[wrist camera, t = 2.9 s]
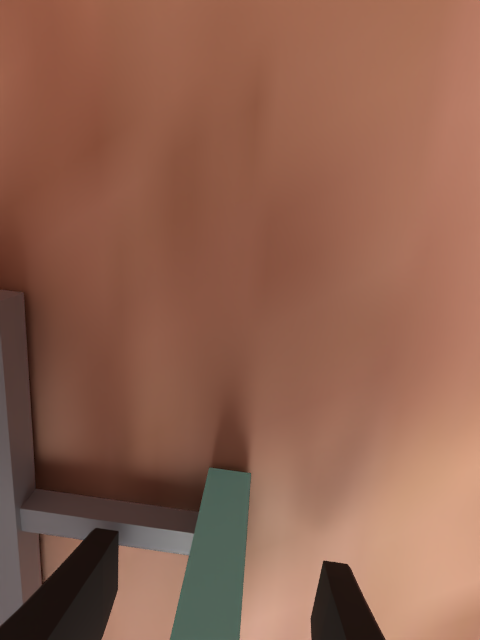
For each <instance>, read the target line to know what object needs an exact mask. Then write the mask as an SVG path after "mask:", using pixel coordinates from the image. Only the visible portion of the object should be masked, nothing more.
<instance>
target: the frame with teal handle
mask: <svg viewBox="0 0 480 640" xmlns="http://www.w3.org/2000/svg"><path fill="white" fill-rule="evenodd" d="M250 482H251V473H246V472H239V471H231V470H224V469H217V468H210V467H209V470H208V475H207V479H206V483H205V488H204V492H203V497H202V501H201V505H200V510H199V512H197V511H190V510H183V509H176V508H169V507H162V506H154V505H147V504H140V503H133V502H126V501H119V500H112V499H105V498H98V497H91V496H84V495H77V494H70V493H63V492H56V491H49V490H42V489H36V483H35V467H34V451H33V434H32V418H31V402H30V386H29V370H28V354H27V337H26V321H25V305H24V292H16V291H8V290H0V626H1V625H2V624H3V623H4V622H5V621H6V620H7V619H8V618H9V617H10V616H11V615H12V614H14V613H15V612H16V611H17V610H18V609H19V608H20V607H21V606H22V605H23V604H24V603H25V602H26V601H27V600H28V599H29V598H30V597H31V596H32V595H33V594H34V593H35V592H36V591H37V590H38V589H39V588H40V586H41V585H42V580H41V564H40V548H39V534H46V535H53V536H60V537H67V538H73V539H80V540H84V539H85V538H86V537H87V536H88V534H89V533H90V532H91V531H92V530H93V529H95V528H102V529H108V530H115V531H119V543H118V545H121V546H128V547H135V548H142V549H149V550H155V551H162V552H169V553H176V554H183V555H189V558H188V562H187V567H186V571H185V576H184V580H183V584H182V589H181V593H180V598H179V602H178V606H177V611H176V615H175V620H174V624H173V628H172V633H171V637H170V640H239V638H240V624H241V610H242V596H243V582H244V567H245V553H246V539H247V525H248V510H249V496H250Z"/></svg>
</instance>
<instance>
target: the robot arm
mask: <svg viewBox="0 0 480 640" xmlns="http://www.w3.org/2000/svg"><path fill="white" fill-rule="evenodd" d="M118 543H119V531H115V530H108V529H102V528H95V529H93V530H92V531H91V532H90V533H89V534H88V536H87V537H86V538H85V539H84V540H83V541H82V542H81V544H80V545H79V546H78V547H77V548H76V549H75V550H74V551H73V553H72V554H71V555H70V556H69V557H68V558H67V559H66V560H65V561H64V562H63V563H62V564H61V566H60V567H59V568H58V569H57V570H56V571H55V572H54V573H53V574H52V575H51V576H50V577H49V578H48V579H47V580H46V581H45V582H44V583H43V584H42V585H41V586H40V588H39V589H38V590H37V591H36V592H35V593H34V594H33V595H32V596H31V597H30V598H29V599H28V600H27V601H26V602H25V603H24V604H23V605H22V606H21V607H20V608H19V609H18V610H17V611H16V612H15V613H14V614H12V615H11V616H10V617H9V618H8V619H7V620H6V621H5V622H4V623H3V624H2V625H1V626H0V640H101V639H102V636H103V634H104V631H105V628H106V625H107V622H108V619H109V616H110V612H111V609H112V606H113V603H114V600H115V597H116V594H117V590H118ZM311 637H312V640H385V638H384V636H383V634H382V632H381V630H380V628H379V626H378V624H377V622H376V620H375V618H374V616H373V614H372V612H371V610H370V608H369V606H368V604H367V602H366V600H365V598H364V596H363V594H362V592H361V590H360V588H359V586H358V583H357V581H356V579H355V577H354V575H353V572H352V570H351V568H350V567H349V566H348V564H343V563H336V562H329V561H323V565H322V569H321V574H320V579H319V583H318V588H317V592H316V597H315V602H314V606H313V611H312V615H311Z"/></svg>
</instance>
